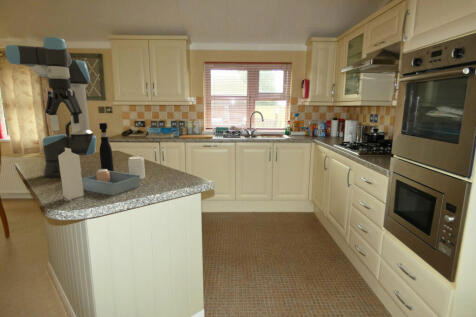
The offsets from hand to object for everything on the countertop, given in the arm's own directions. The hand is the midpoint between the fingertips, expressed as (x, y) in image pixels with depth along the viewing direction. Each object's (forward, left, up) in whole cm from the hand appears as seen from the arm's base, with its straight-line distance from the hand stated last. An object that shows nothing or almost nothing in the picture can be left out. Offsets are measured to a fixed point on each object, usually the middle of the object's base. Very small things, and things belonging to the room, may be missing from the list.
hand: (65, 131), depth 114 cm
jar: (-2, +17, -29) cm, 33 cm away
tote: (+4, +16, -29) cm, 34 cm away
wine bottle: (-20, +34, -30) cm, 49 cm away
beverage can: (+2, +35, -30) cm, 46 cm away
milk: (0, 0, -30) cm, 30 cm away
